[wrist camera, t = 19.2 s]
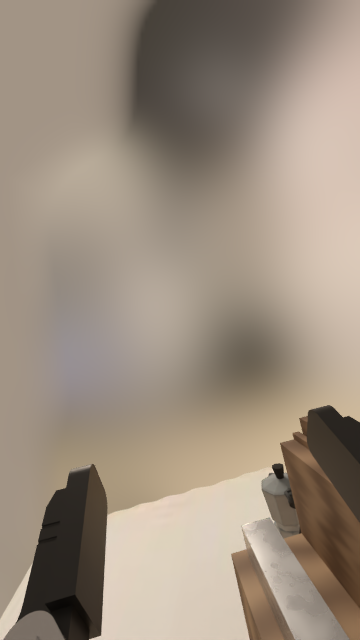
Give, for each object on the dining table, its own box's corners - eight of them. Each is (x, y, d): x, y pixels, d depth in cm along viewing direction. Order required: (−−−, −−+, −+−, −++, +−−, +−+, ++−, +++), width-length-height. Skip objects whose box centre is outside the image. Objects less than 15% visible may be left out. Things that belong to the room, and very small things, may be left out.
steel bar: (549, 1007, 10) (519, 898, 11) (463, 1051, 10) (434, 937, 10) (276, 548, 34) (269, 517, 35) (248, 556, 34) (241, 525, 34)
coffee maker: (265, 541, 64) (247, 459, 66) (302, 529, 65) (283, 449, 67) (300, 599, 50) (275, 491, 51) (347, 582, 51) (321, 478, 52)
